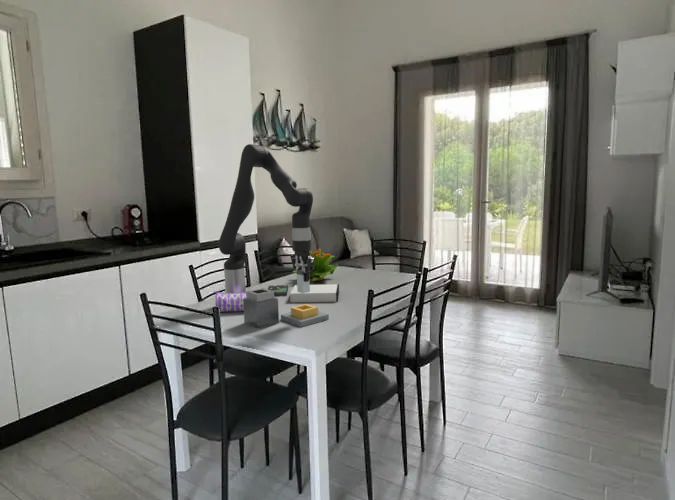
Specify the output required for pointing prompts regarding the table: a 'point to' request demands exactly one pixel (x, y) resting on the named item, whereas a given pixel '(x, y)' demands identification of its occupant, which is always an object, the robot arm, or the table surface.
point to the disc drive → (316, 294)
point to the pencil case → (230, 301)
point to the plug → (302, 282)
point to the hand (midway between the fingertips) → (303, 280)
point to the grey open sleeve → (260, 308)
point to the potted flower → (321, 266)
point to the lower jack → (304, 315)
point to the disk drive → (279, 290)
